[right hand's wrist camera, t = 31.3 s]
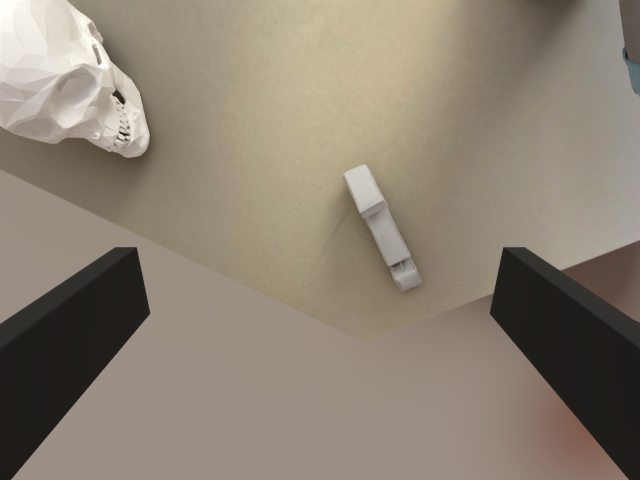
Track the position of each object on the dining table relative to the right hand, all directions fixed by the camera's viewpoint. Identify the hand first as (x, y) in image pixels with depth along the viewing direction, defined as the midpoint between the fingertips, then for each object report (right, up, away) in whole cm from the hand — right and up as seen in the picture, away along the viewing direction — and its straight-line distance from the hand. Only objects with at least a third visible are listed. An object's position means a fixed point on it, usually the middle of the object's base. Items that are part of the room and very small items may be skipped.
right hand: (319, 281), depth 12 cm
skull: (-29, +22, +31) cm, 48 cm away
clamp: (+9, +3, +38) cm, 39 cm away
